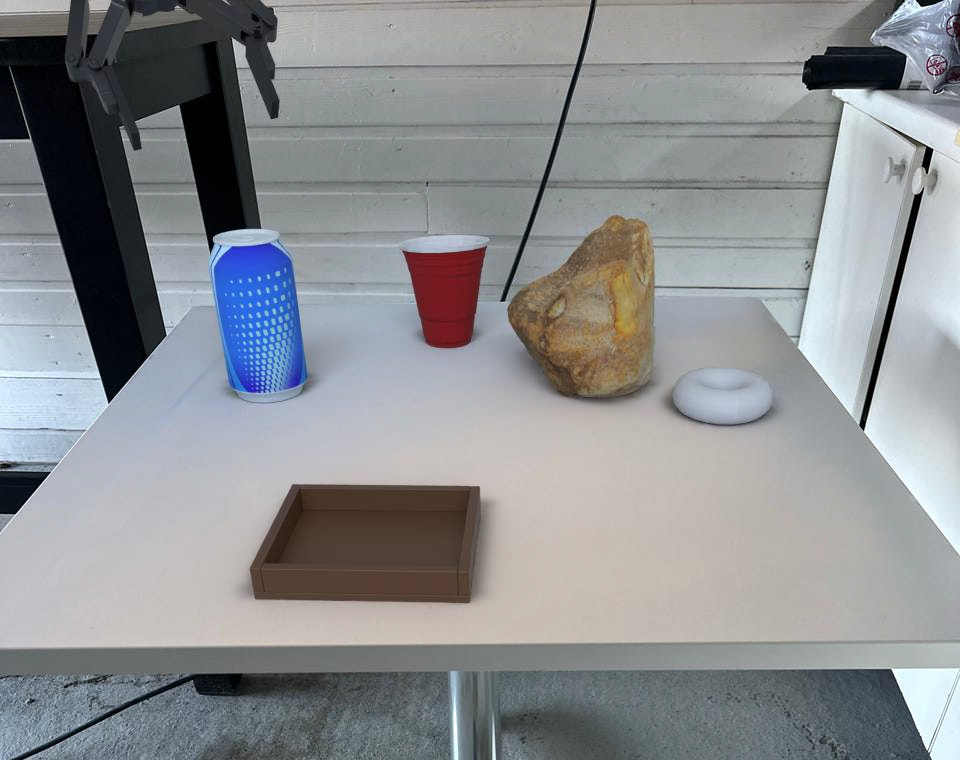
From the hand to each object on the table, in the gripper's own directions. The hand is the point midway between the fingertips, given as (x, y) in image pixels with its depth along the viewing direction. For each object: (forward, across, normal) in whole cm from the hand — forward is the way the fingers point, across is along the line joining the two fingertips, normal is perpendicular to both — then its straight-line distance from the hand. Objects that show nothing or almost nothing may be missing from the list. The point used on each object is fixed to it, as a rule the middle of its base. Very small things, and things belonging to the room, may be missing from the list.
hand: (207, 126), depth 87 cm
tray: (+45, +4, +17) cm, 48 cm away
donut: (+43, -37, +5) cm, 57 cm away
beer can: (+22, +2, -14) cm, 26 cm away
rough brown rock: (+32, -31, -8) cm, 45 cm away
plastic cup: (+20, -22, -21) cm, 37 cm away
